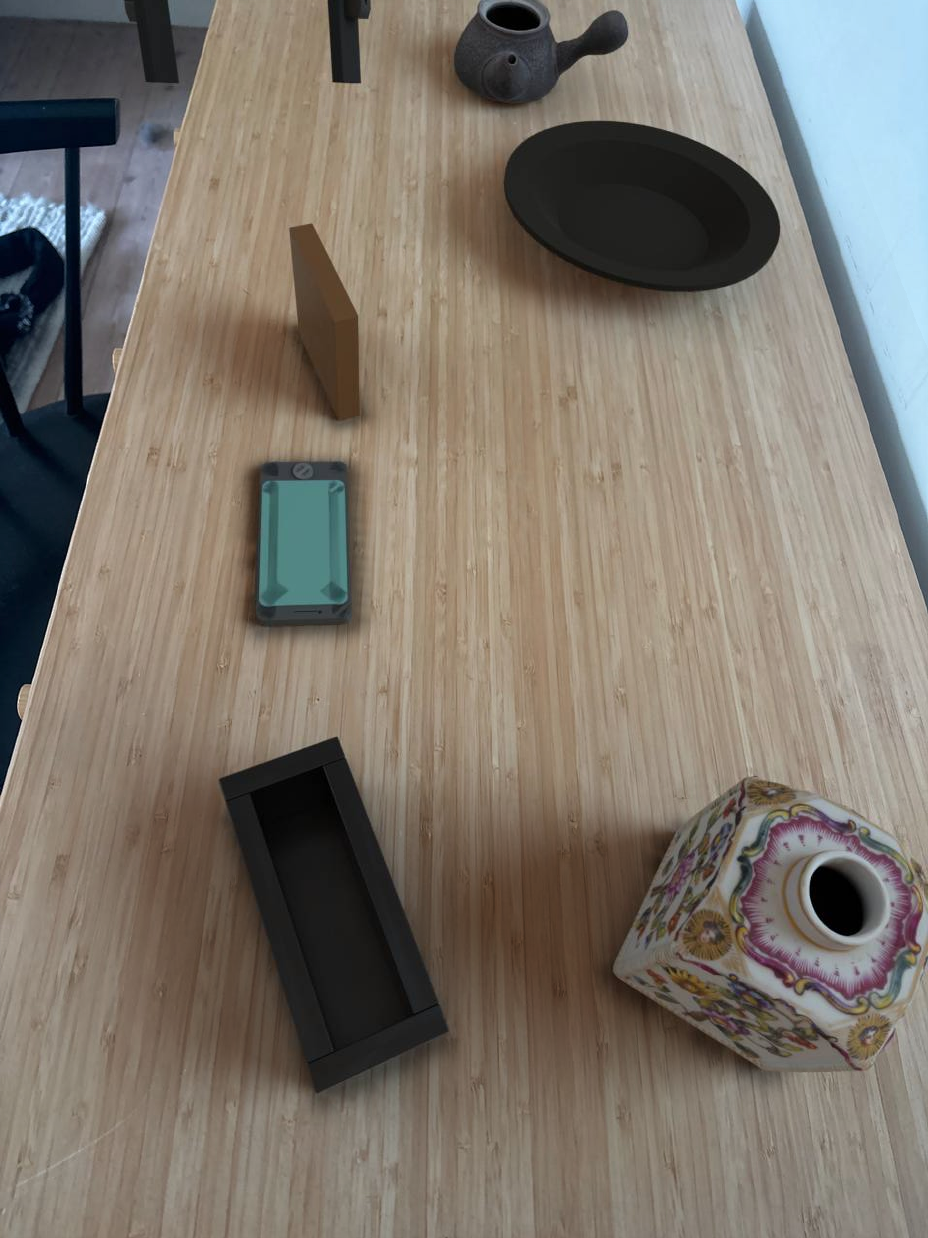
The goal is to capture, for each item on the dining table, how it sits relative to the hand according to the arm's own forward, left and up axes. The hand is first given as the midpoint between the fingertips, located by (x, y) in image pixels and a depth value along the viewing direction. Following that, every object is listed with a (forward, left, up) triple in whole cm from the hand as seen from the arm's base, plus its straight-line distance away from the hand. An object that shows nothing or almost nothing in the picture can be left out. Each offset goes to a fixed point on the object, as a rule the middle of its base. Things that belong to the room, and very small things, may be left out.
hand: (252, 83), depth 57 cm
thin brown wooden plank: (+2, +3, -25) cm, 26 cm away
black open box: (+48, -10, -25) cm, 55 cm away
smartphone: (+19, -4, -25) cm, 32 cm away
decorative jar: (+58, +14, -25) cm, 65 cm away
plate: (-7, +38, -25) cm, 47 cm away
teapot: (-34, +38, -25) cm, 57 cm away
